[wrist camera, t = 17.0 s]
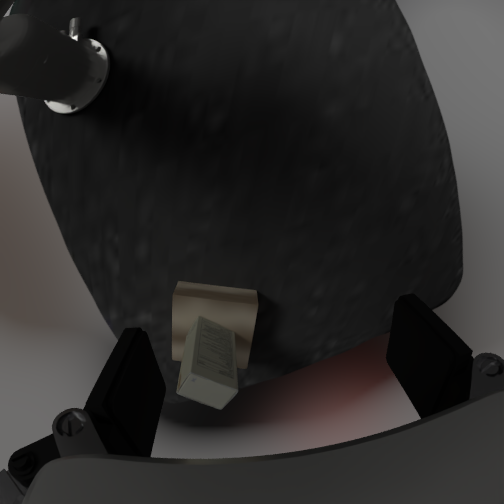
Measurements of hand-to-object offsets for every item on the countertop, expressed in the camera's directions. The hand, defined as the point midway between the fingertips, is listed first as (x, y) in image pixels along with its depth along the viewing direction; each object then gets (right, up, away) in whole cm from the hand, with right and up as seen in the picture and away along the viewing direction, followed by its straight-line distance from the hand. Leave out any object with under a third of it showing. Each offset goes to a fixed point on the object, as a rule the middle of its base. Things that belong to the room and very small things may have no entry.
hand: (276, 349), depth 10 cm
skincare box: (-7, -9, +32) cm, 34 cm away
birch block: (-7, -7, +37) cm, 38 cm away
